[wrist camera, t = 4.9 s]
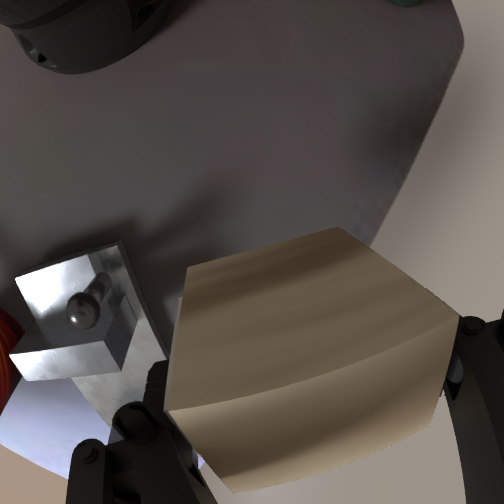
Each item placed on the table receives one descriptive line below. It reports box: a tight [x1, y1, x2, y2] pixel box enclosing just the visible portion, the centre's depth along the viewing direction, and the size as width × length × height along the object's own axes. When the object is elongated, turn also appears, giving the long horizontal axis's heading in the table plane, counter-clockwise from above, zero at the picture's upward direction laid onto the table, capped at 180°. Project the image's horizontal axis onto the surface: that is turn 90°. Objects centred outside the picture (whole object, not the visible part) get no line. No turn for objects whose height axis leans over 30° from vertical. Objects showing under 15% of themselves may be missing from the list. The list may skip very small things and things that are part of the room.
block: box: [168, 227, 459, 493], centre depth 10 cm, size 5×7×8 cm
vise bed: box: [72, 240, 198, 467], centre depth 25 cm, size 26×13×8 cm, turn 13°
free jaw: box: [9, 247, 137, 381], centre depth 20 cm, size 8×12×8 cm
